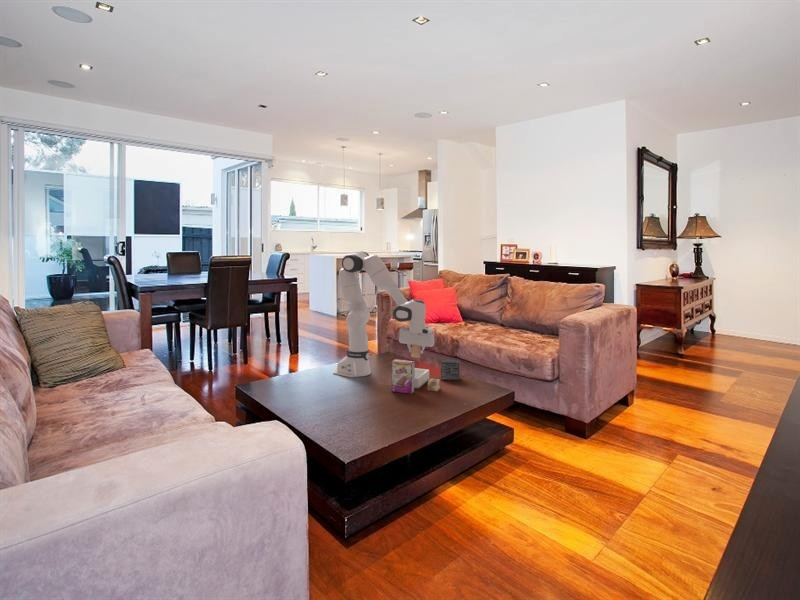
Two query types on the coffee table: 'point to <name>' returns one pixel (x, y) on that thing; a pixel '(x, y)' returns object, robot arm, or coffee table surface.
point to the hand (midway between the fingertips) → (415, 352)
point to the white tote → (420, 377)
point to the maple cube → (434, 384)
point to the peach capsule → (416, 351)
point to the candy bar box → (403, 376)
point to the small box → (450, 370)
